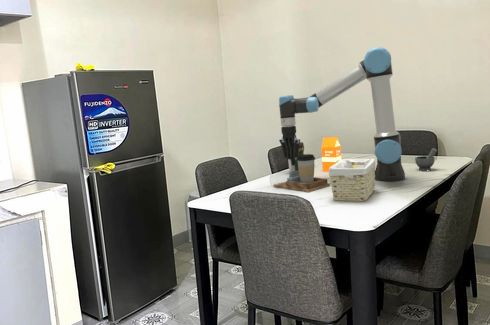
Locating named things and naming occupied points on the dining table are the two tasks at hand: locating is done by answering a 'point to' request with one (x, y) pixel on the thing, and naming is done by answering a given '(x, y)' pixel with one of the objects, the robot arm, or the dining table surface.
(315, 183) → the housing base
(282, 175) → the dining table surface
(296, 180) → the block
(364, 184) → the storage basket
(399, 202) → the dining table surface
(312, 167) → the coffee cup
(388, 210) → the dining table surface
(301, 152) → the coffee jar
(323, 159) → the orange juice
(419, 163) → the mortar and pestle
